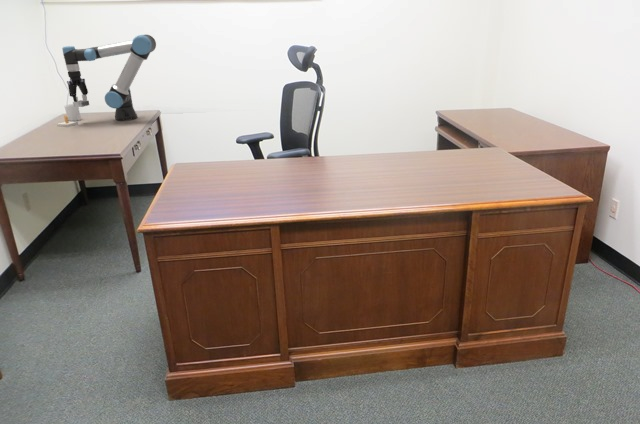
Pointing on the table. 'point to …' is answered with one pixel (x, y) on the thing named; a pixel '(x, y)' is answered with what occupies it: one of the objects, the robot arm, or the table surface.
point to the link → (82, 103)
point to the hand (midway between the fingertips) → (81, 105)
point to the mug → (72, 113)
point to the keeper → (67, 122)
